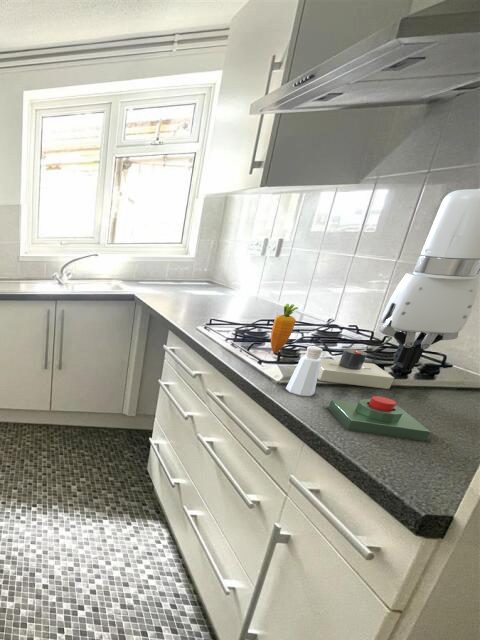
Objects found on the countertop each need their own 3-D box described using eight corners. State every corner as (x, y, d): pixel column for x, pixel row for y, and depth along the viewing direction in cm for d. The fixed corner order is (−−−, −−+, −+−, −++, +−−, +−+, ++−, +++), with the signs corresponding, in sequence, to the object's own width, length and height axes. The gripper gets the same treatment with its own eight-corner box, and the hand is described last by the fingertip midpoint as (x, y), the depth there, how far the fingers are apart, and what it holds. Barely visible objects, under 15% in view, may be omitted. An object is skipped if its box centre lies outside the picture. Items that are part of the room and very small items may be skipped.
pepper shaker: (299, 386, 101) (314, 343, 97) (319, 395, 96) (337, 351, 92) (279, 387, 100) (294, 344, 96) (299, 397, 96) (316, 352, 91)
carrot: (266, 349, 127) (282, 300, 121) (286, 353, 123) (303, 303, 117) (262, 353, 123) (278, 303, 117) (282, 357, 120) (299, 306, 114)
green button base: (397, 418, 87) (405, 400, 85) (425, 441, 78) (435, 423, 77) (327, 408, 91) (334, 391, 89) (347, 429, 82) (354, 411, 80)
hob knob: (335, 362, 108) (341, 346, 106) (356, 364, 107) (363, 348, 105) (342, 368, 104) (349, 352, 103) (364, 370, 103) (371, 354, 101)
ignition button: (387, 405, 84) (390, 397, 83) (396, 413, 81) (400, 405, 80) (364, 402, 85) (368, 395, 84) (373, 410, 82) (376, 402, 81)
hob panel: (369, 374, 109) (374, 363, 107) (389, 389, 100) (394, 377, 99) (305, 367, 113) (309, 356, 112) (319, 380, 105) (323, 369, 103)
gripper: (488, 266, 73) (442, 364, 80) (381, 263, 78) (346, 355, 85) (522, 272, 66) (468, 378, 74) (402, 268, 71) (363, 368, 79)
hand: (403, 365), depth 79 cm, fingers closed
